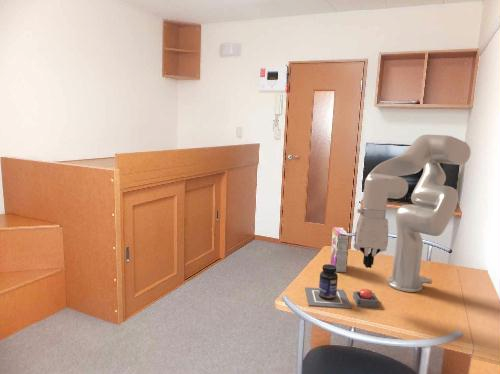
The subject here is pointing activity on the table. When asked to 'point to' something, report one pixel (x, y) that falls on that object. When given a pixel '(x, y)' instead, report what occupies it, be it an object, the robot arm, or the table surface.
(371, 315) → the table surface
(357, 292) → the button housing
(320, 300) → the gray square pad
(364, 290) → the button
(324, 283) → the pill bottle
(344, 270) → the candy bar box
